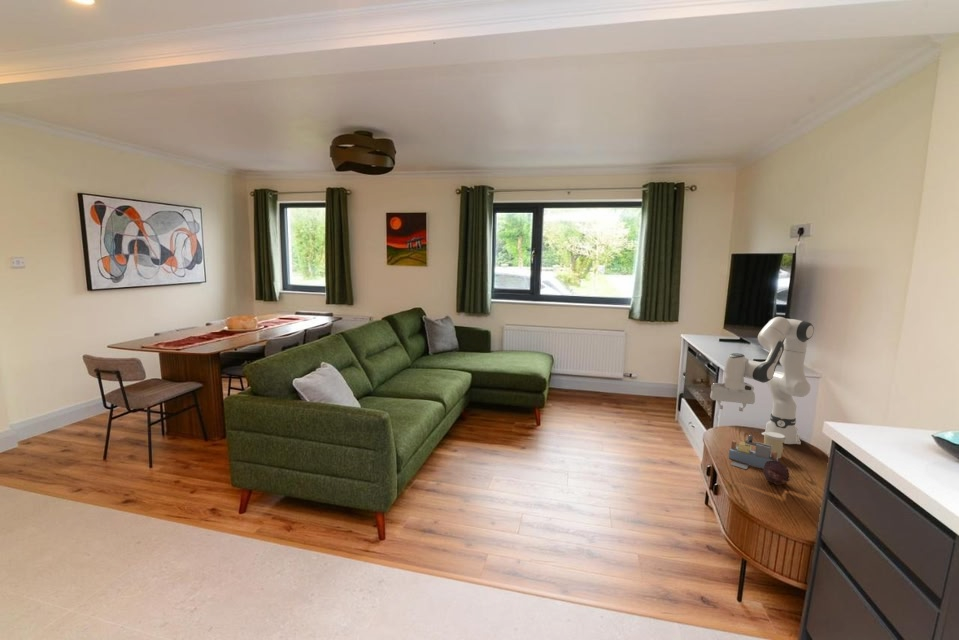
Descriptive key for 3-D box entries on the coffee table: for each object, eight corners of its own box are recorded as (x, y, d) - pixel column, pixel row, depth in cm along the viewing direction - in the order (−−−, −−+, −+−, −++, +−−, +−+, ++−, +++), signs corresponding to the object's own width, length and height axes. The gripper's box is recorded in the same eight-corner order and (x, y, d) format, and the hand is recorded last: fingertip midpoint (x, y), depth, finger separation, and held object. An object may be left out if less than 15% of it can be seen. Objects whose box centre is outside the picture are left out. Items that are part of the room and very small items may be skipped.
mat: (733, 461, 217) (733, 460, 217) (749, 466, 213) (749, 465, 213) (730, 465, 213) (730, 464, 213) (746, 469, 208) (746, 469, 208)
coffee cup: (786, 460, 220) (789, 438, 218) (766, 458, 222) (769, 437, 220) (777, 453, 229) (780, 432, 228) (758, 451, 231) (761, 430, 229)
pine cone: (757, 471, 207) (759, 452, 206) (781, 475, 203) (783, 455, 202) (767, 488, 190) (769, 467, 189) (793, 493, 187) (796, 472, 186)
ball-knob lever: (745, 442, 219) (746, 434, 218) (763, 446, 213) (764, 438, 213) (744, 443, 217) (745, 435, 217) (763, 448, 212) (764, 439, 211)
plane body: (732, 454, 226) (734, 435, 225) (777, 466, 212) (779, 446, 211) (728, 459, 220) (730, 439, 219) (774, 472, 207) (776, 451, 205)
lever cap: (739, 448, 222) (740, 441, 221) (751, 451, 219) (751, 443, 218) (737, 451, 218) (738, 443, 218) (749, 454, 215) (749, 446, 214)
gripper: (712, 383, 220) (710, 409, 221) (757, 388, 214) (754, 414, 216) (709, 380, 226) (707, 405, 227) (753, 384, 220) (750, 410, 222)
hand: (730, 409), depth 221 cm, fingers open, 8 cm apart
